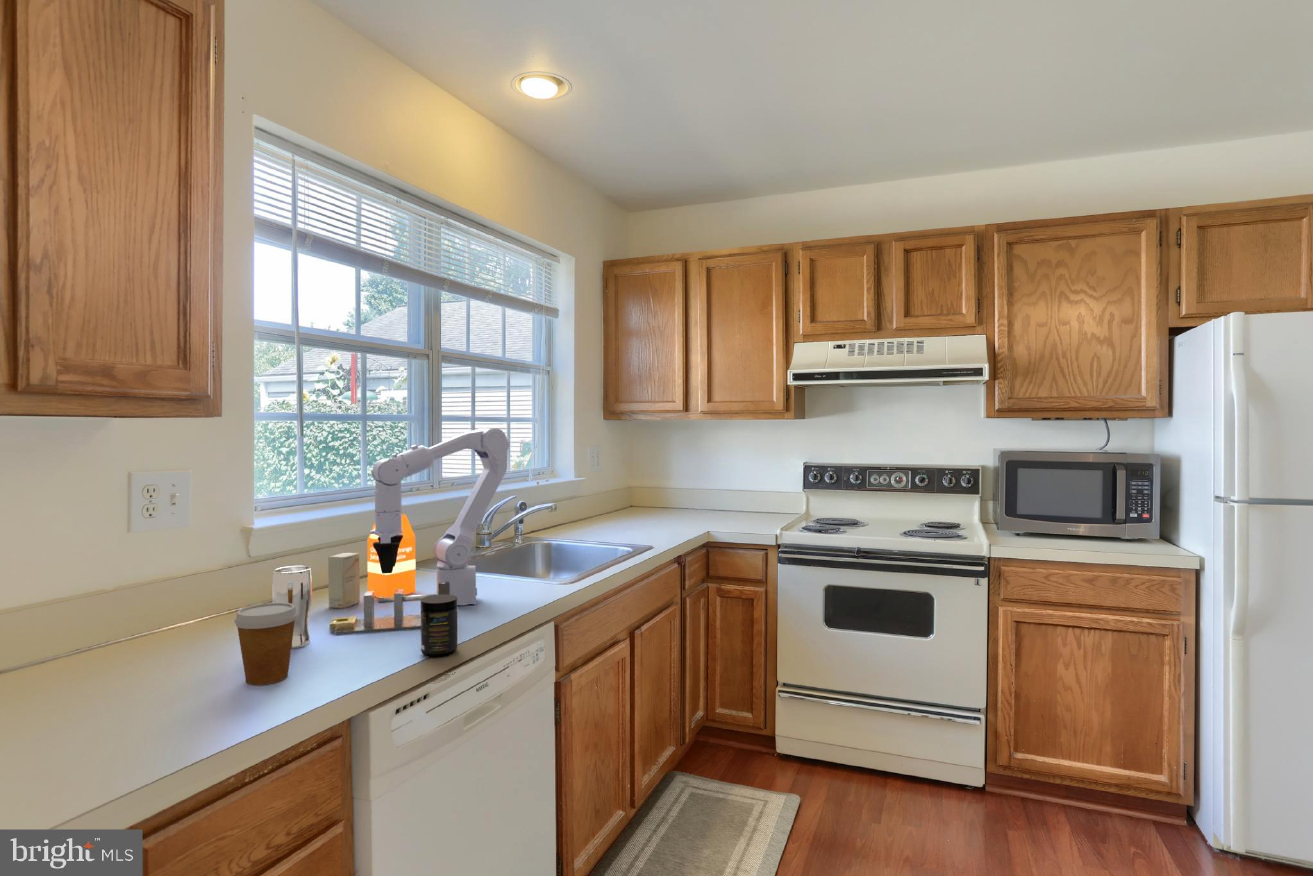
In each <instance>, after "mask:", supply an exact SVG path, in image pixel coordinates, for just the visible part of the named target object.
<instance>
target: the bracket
mask: <svg viewBox="0 0 1313 876" xmlns="http://www.w3.org/2000/svg"><path fill="white" fill-rule="evenodd" d="M402 596H404V595H403V589H398V590H395V593H394V602H393V616H386V617H385V616H384V617H382V616H381V617H375V596H374V591H368V590H366V591H365V592H364V595H363V618H357V623H356V625H355V627H354V628H349V629H336V630H335V632H334V636H339V635H340V636H341V635H343V636H344V635H354V634H353V633H356V634H367V633H379V632H381V631H383V632H392V631H407V630H406V629H409V630H421V614H414V615H413V614H412V615H404V602H402Z"/></svg>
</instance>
